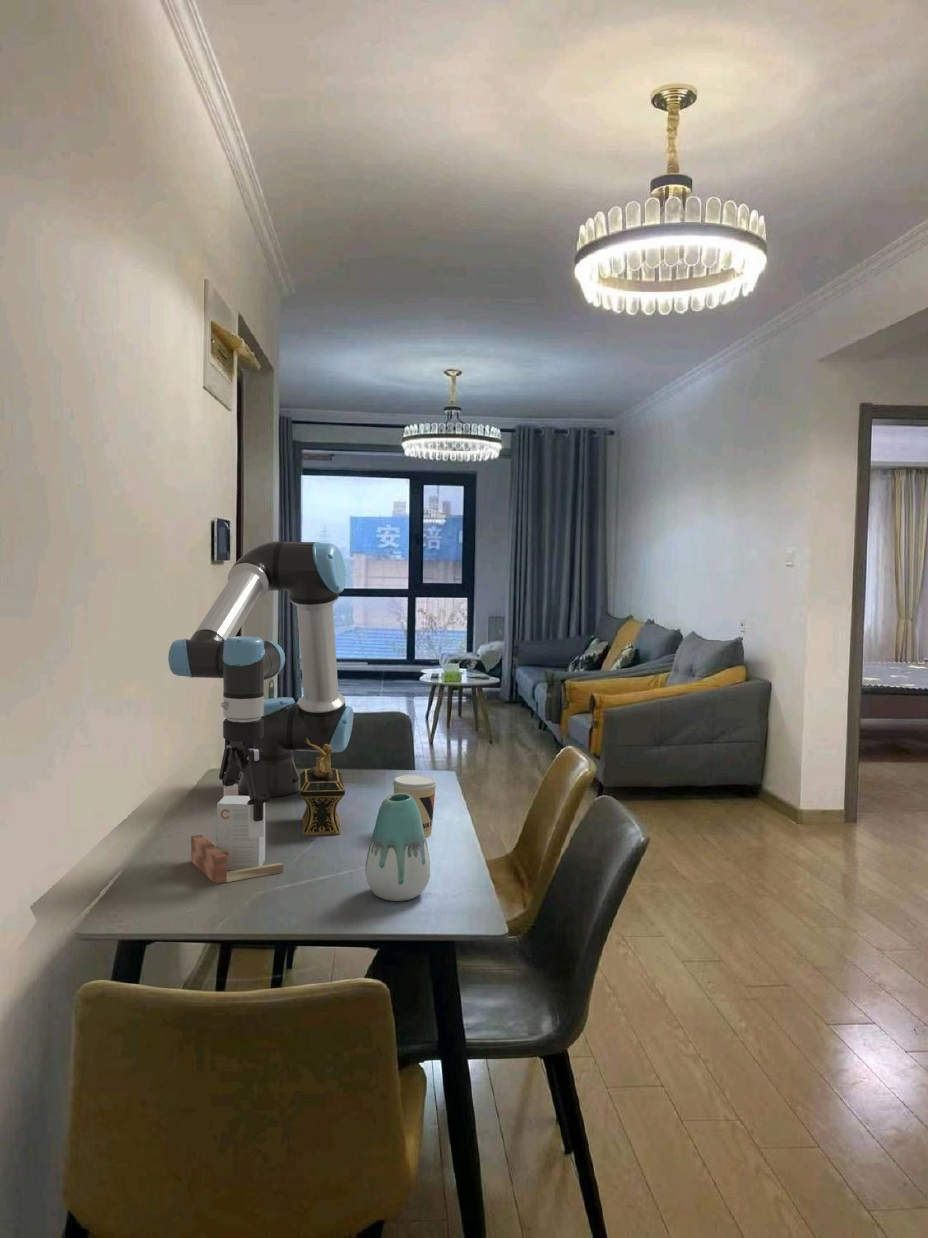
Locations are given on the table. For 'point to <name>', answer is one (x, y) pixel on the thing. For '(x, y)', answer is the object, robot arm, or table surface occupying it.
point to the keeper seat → (223, 863)
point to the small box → (238, 834)
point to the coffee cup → (419, 796)
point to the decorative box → (321, 795)
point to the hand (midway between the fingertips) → (242, 827)
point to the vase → (398, 851)
